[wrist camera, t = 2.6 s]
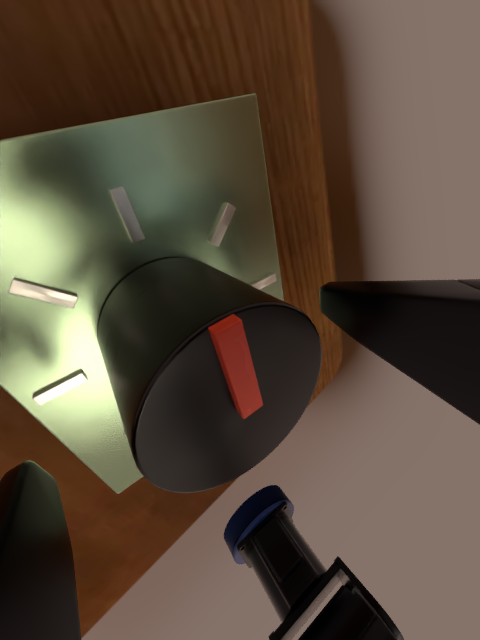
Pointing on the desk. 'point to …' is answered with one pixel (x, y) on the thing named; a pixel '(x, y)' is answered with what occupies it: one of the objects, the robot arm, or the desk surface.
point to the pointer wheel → (204, 371)
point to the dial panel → (118, 248)
